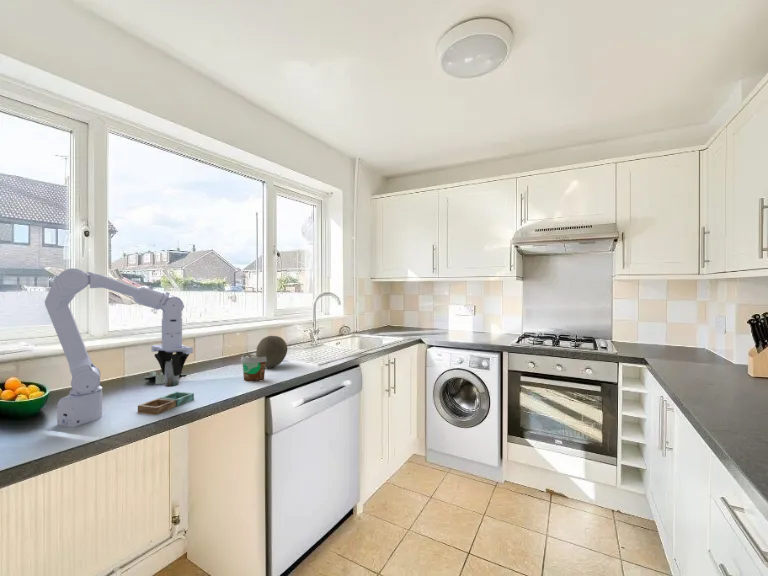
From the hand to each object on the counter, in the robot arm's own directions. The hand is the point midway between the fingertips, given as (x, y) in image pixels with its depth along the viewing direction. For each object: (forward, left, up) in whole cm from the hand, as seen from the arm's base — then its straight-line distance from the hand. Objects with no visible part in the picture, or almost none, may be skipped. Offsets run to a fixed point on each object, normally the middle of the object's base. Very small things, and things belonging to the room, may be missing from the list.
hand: (172, 374), depth 116 cm
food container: (+35, -5, -11) cm, 37 cm away
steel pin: (0, 0, -3) cm, 3 cm away
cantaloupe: (+58, -1, -11) cm, 59 cm away
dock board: (-2, 0, -11) cm, 11 cm away
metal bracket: (+25, +29, -11) cm, 40 cm away
